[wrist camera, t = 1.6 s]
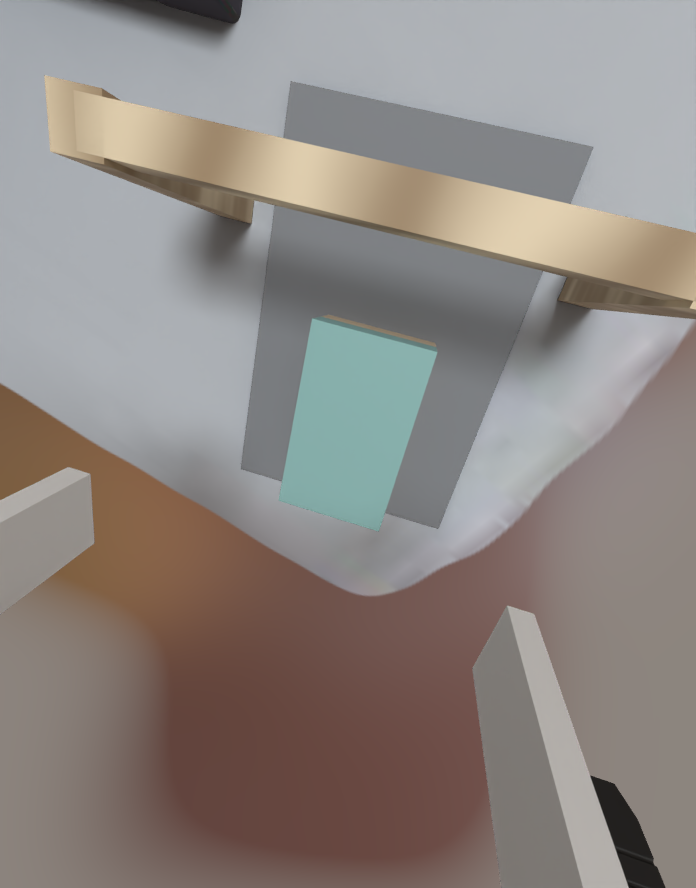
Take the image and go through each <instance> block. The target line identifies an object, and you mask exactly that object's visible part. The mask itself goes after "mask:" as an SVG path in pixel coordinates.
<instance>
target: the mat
mask: <svg viewBox="0 0 696 888" xmlns="http://www.w3.org/2000/svg"><path fill="white" fill-rule="evenodd" d="M284 138H285V139H289V140H293V141H298V142H302V143H306V144H311V145H315V146H320V147H324V148H328V149H333V150H337V151H341V152H346V153H350V154H354V155H359V156H363V157H367V158H372V159H376V160H380V161H385V162H389V163H393V164H398V165H402V166H407V167H411V168H415V169H420V170H424V171H428V172H433V173H437V174H441V175H446V176H450V177H454V178H459V179H463V180H467V181H472V182H476V183H480V184H485V185H489V186H494V187H498V188H502V189H507V190H511V191H515V192H520V193H524V194H528V195H533V196H537V197H541V198H546V199H550V200H554V201H559V202H563V203H567V204H571V201H572V199H573V196H574V194H575V191H576V189H577V187H578V184H579V182H580V179H581V177H582V174H583V172H584V169H585V167H586V164H587V162H588V159H589V157H590V155H591V152H592V150H593V147H591V146H586V145H582V144H577V143H573V142H568V141H563V140H559V139H554V138H550V137H545V136H540V135H536V134H531V133H527V132H522V131H517V130H513V129H508V128H504V127H499V126H494V125H490V124H485V123H481V122H476V121H471V120H467V119H462V118H458V117H453V116H448V115H444V114H439V113H434V112H430V111H425V110H421V109H416V108H411V107H407V106H402V105H398V104H393V103H388V102H384V101H379V100H375V99H370V98H365V97H361V96H356V95H352V94H347V93H342V92H338V91H333V90H329V89H324V88H319V87H315V86H310V85H306V84H301V83H296V82H292V81H291V83H290V91H289V99H288V107H287V114H286V122H285V130H284ZM542 272H543V271H541V270H537V269H533V268H529V267H525V266H521V265H517V264H513V263H509V262H504V261H500V260H496V259H492V258H488V257H484V256H480V255H476V254H472V253H468V252H464V251H460V250H455V249H451V248H447V247H443V246H439V245H435V244H431V243H427V242H423V241H419V240H415V239H411V238H406V237H402V236H398V235H394V234H390V233H386V232H382V231H378V230H374V229H370V228H366V227H362V226H357V225H353V224H349V223H345V222H341V221H337V220H333V219H329V218H325V217H321V216H317V215H313V214H308V213H304V212H300V211H296V210H292V209H288V208H284V207H280V206H276V205H275V207H274V215H273V223H272V231H271V238H270V246H269V254H268V262H267V269H266V277H265V285H264V293H263V300H262V308H261V316H260V324H259V331H258V339H257V347H256V355H255V362H254V370H253V378H252V386H251V393H250V401H249V409H248V417H247V424H246V432H245V440H244V448H243V455H242V463H241V469H243V470H246V471H249V472H253V473H256V474H259V475H263V476H266V477H269V478H272V479H276V480H279V481H282V480H283V474H284V469H285V463H286V458H287V453H288V447H289V442H290V436H291V431H292V425H293V420H294V414H295V409H296V404H297V398H298V393H299V387H300V382H301V376H302V371H303V366H304V360H305V355H306V349H307V344H308V338H309V333H310V327H311V322H312V319H313V318H317V317H321V316H325V315H332V316H336V317H339V318H343V319H347V320H351V321H355V322H358V323H362V324H366V325H370V326H373V327H377V328H381V329H385V330H388V331H392V332H396V333H400V334H404V335H407V336H411V337H415V338H419V339H422V340H426V341H430V342H434V343H435V344H436V348H437V355H436V358H435V362H434V365H433V368H432V371H431V374H430V377H429V380H428V383H427V386H426V389H425V392H424V395H423V398H422V401H421V404H420V407H419V410H418V413H417V416H416V419H415V423H414V426H413V429H412V432H411V435H410V438H409V441H408V444H407V447H406V450H405V453H404V456H403V459H402V462H401V465H400V468H399V471H398V474H397V477H396V480H395V484H394V487H393V490H392V493H391V496H390V499H389V502H388V505H387V508H386V511H385V513H387V514H391V515H394V516H397V517H401V518H404V519H407V520H410V521H414V522H417V523H420V524H424V525H427V526H430V527H433V528H437V529H438V528H439V525H440V523H441V521H442V518H443V516H444V513H445V511H446V508H447V506H448V503H449V501H450V498H451V496H452V494H453V491H454V489H455V486H456V484H457V481H458V479H459V476H460V474H461V471H462V469H463V466H464V464H465V462H466V459H467V457H468V454H469V452H470V449H471V447H472V444H473V442H474V439H475V437H476V435H477V432H478V430H479V427H480V425H481V422H482V420H483V417H484V415H485V412H486V410H487V408H488V405H489V403H490V400H491V398H492V395H493V393H494V390H495V388H496V385H497V383H498V381H499V378H500V376H501V373H502V371H503V368H504V366H505V363H506V361H507V358H508V356H509V354H510V351H511V349H512V346H513V344H514V341H515V339H516V336H517V334H518V331H519V329H520V326H521V324H522V322H523V319H524V317H525V314H526V312H527V309H528V307H529V304H530V302H531V299H532V297H533V295H534V292H535V290H536V287H537V285H538V282H539V280H540V277H541V275H542Z"/></svg>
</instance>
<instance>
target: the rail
mask: <svg viewBox="0 0 696 888" xmlns="http://www.w3.org/2000/svg"><path fill="white" fill-rule="evenodd" d="M44 76H45V75H44ZM45 89H46V102H47V114H48V127H49V140H50V151H51V152H53V153H56V154H58V155H61V156H64V157H66V158H69V159H72V160H74V161H77V162H80V163H82V164H85V165H88V166H90V167H93V168H95V169H98V170H101V171H103V172H106V173H109V174H111V175H114V176H117V177H119V178H122V179H124V180H127V181H130V182H132V183H135V184H138V185H140V186H143V187H146V188H148V189H151V190H153V191H156V192H159V193H161V194H164V195H167V196H169V197H172V198H175V199H177V200H180V201H183V202H185V203H188V204H190V205H193V206H196V207H198V208H201V209H204V210H206V211H209V212H212V213H214V214H217V215H219V216H222V217H226V218H230V219H234V220H238V221H242V222H246V223H250V224H251V223H252V214H253V204H254V200H255V201H259V202H263V203H268V204H272V205H276V206H280V207H284V208H288V209H292V210H296V211H300V212H304V213H308V214H313V215H317V216H321V217H325V218H329V219H333V220H337V221H341V222H345V223H349V224H353V225H357V226H362V227H366V228H370V229H374V230H378V231H382V232H386V233H390V234H394V235H398V236H402V237H406V238H411V239H415V240H419V241H423V242H427V243H431V244H435V245H439V246H443V247H447V248H451V249H455V250H460V251H464V252H468V253H472V254H476V255H480V256H484V257H488V258H492V259H496V260H500V261H504V262H509V263H513V264H517V265H521V266H525V267H529V268H533V269H537V270H541V271H545V272H549V273H553V274H558V275H562V276H566V277H567V280H566V282H565V284H564V287H563V289H562V291H561V294H560V296H559V298H558V301H562V302H566V303H570V304H574V305H578V306H582V307H586V308H590V309H598V310H608V311H618V312H628V313H639V314H649V315H659V316H669V317H679V318H690V319H696V233H694V232H689V231H685V230H681V229H676V228H672V227H668V226H663V225H659V224H655V223H650V222H646V221H641V220H637V219H633V218H628V217H624V216H620V215H615V214H611V213H607V212H602V211H598V210H594V209H589V208H585V207H581V206H576V205H572V204H567V203H563V202H559V201H554V200H550V199H546V198H541V197H537V196H533V195H528V194H524V193H520V192H515V191H511V190H507V189H502V188H498V187H494V186H489V185H485V184H480V183H476V182H472V181H467V180H463V179H459V178H454V177H450V176H446V175H441V174H437V173H433V172H428V171H424V170H420V169H415V168H411V167H407V166H402V165H398V164H393V163H389V162H385V161H380V160H376V159H372V158H367V157H363V156H359V155H354V154H350V153H346V152H341V151H337V150H333V149H328V148H324V147H320V146H315V145H311V144H306V143H302V142H298V141H293V140H289V139H285V138H280V137H276V136H272V135H267V134H263V133H259V132H254V131H250V130H246V129H241V128H237V127H232V126H228V125H224V124H219V123H215V122H211V121H206V120H202V119H198V118H193V117H189V116H185V115H180V114H176V113H172V112H167V111H163V110H159V109H154V108H150V107H145V106H141V105H137V104H132V103H128V102H124V101H121V100H119V99H118V98H116V97H115V96H113V95H111V94H110V93H108V92H107V91H105V90H104V89H102V88H98V87H93V86H89V85H85V84H80V83H76V82H71V81H67V80H63V79H58V78H54V77H50V76H45Z"/></svg>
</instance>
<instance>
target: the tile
mask: <svg viewBox="0 0 696 888" xmlns="http://www.w3.org/2000/svg"><path fill="white" fill-rule="evenodd" d="M436 355H437V348H436V344H435V343H434V342H430V341H426V340H422V339H419V338H415V337H411V336H407V335H404V334H400V333H396V332H392V331H388V330H385V329H381V328H377V327H373V326H370V325H366V324H362V323H358V322H355V321H351V320H347V319H343V318H339V317H336V316H332V315H325V316H321V317H317V318H313V319H312V322H311V327H310V333H309V338H308V344H307V349H306V355H305V360H304V366H303V371H302V376H301V382H300V387H299V393H298V398H297V404H296V409H295V414H294V420H293V425H292V431H291V436H290V442H289V447H288V453H287V458H286V463H285V469H284V474H283V480H282V485H281V491H280V496H279V501H282V502H285V503H288V504H291V505H294V506H298V507H301V508H304V509H307V510H311V511H314V512H317V513H320V514H324V515H327V516H330V517H333V518H337V519H340V520H343V521H346V522H350V523H353V524H356V525H359V526H363V527H366V528H369V529H372V530H375V531H379V529H380V526H381V523H382V520H383V517H384V514H385V511H386V508H387V505H388V502H389V499H390V496H391V493H392V490H393V487H394V484H395V480H396V477H397V474H398V471H399V468H400V465H401V462H402V459H403V456H404V453H405V450H406V447H407V444H408V441H409V438H410V435H411V432H412V429H413V426H414V423H415V419H416V416H417V413H418V410H419V407H420V404H421V401H422V398H423V395H424V392H425V389H426V386H427V383H428V380H429V377H430V374H431V371H432V368H433V365H434V362H435V358H436Z"/></svg>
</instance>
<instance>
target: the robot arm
mask: <svg viewBox="0 0 696 888" xmlns="http://www.w3.org/2000/svg"><path fill="white" fill-rule="evenodd" d="M92 510H93V509H92V493H91V478H90V474H89V473H86V472H82V471H79V470H76V469H73V468H70V467H68V468H66V469H63V470H61V471H59V472H57V473H55V474H53V475H51V476H49V477H47V478H45V479H43V480H41V481H39V482H37V483H35V484H33V485H31V486H29V487H27V488H24V489H23V490H20V491H18V492H16V493H14V494H12V495H10V496H8V497H6V498H4V499H2V500H0V614H2V613H3V612H4V611H6V610H7V609H8V608H10V607H11V606H12V605H14V604H15V603H16V602H17V601H19V600H20V599H21V598H23V597H24V596H25V595H27V594H28V593H29V592H31V591H32V590H33V589H35V588H36V587H37V586H39V585H40V584H41V583H43V582H44V581H45V580H47V579H48V578H49V577H50V576H52V575H53V574H54V573H56V572H57V571H58V570H60V569H61V568H62V567H63V566H65V565H66V564H68V563H69V562H70V561H71V560H73V559H74V558H75V557H77V556H78V555H79V554H81V553H82V552H83V551H85V550H86V549H87V548H89V547H90V546H91V545H93V544H94V526H93V511H92ZM472 669H473V676H474V684H475V692H476V699H477V707H478V714H479V722H480V730H481V737H482V745H483V752H484V760H485V768H486V775H487V783H488V791H489V798H490V806H491V813H492V821H493V828H494V836H495V844H496V852H497V859H498V867H499V874H500V882H501V888H665V885H664V883H663V880H662V878H661V875H660V873H659V871H658V868H657V867H656V866H655V865H654V863H653V859H654V858H653V856H652V853H651V851H650V848H649V846H648V844H647V841H646V839H645V836H644V834H643V831H642V829H641V826H640V824H639V822H638V819H637V818H636V816H635V815H634V813H633V812H632V810H631V809H630V807H629V806H628V804H627V802H626V801H625V799H624V798H623V796H622V795H621V793H620V792H619V790H618V789H617V787H616V786H615V784H613V783H611V782H608V781H605V780H602V779H599V778H596V777H593V776H590V774H589V772H588V769H587V766H586V763H585V760H584V757H583V754H582V751H581V748H580V745H579V743H578V740H577V737H576V734H575V731H574V728H573V725H572V722H571V719H570V717H569V714H568V711H567V708H566V705H565V702H564V699H563V696H562V693H561V691H560V688H559V685H558V682H557V679H556V676H555V673H554V670H553V667H552V665H551V662H550V659H549V656H548V653H547V650H546V647H545V644H544V642H543V639H542V636H541V633H540V630H539V627H538V624H537V621H536V618H535V615H534V614H532V613H529V612H526V611H523V610H520V609H517V608H513V607H510V606H507V607H506V609H505V610H504V612H503V614H502V616H501V618H500V619H499V621H498V623H497V625H496V627H495V628H494V630H493V632H492V634H491V636H490V638H489V639H488V641H487V643H486V645H485V647H484V648H483V650H482V652H481V654H480V656H479V657H478V659H477V661H476V663H475V665H474V667H473V668H472Z"/></svg>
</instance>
